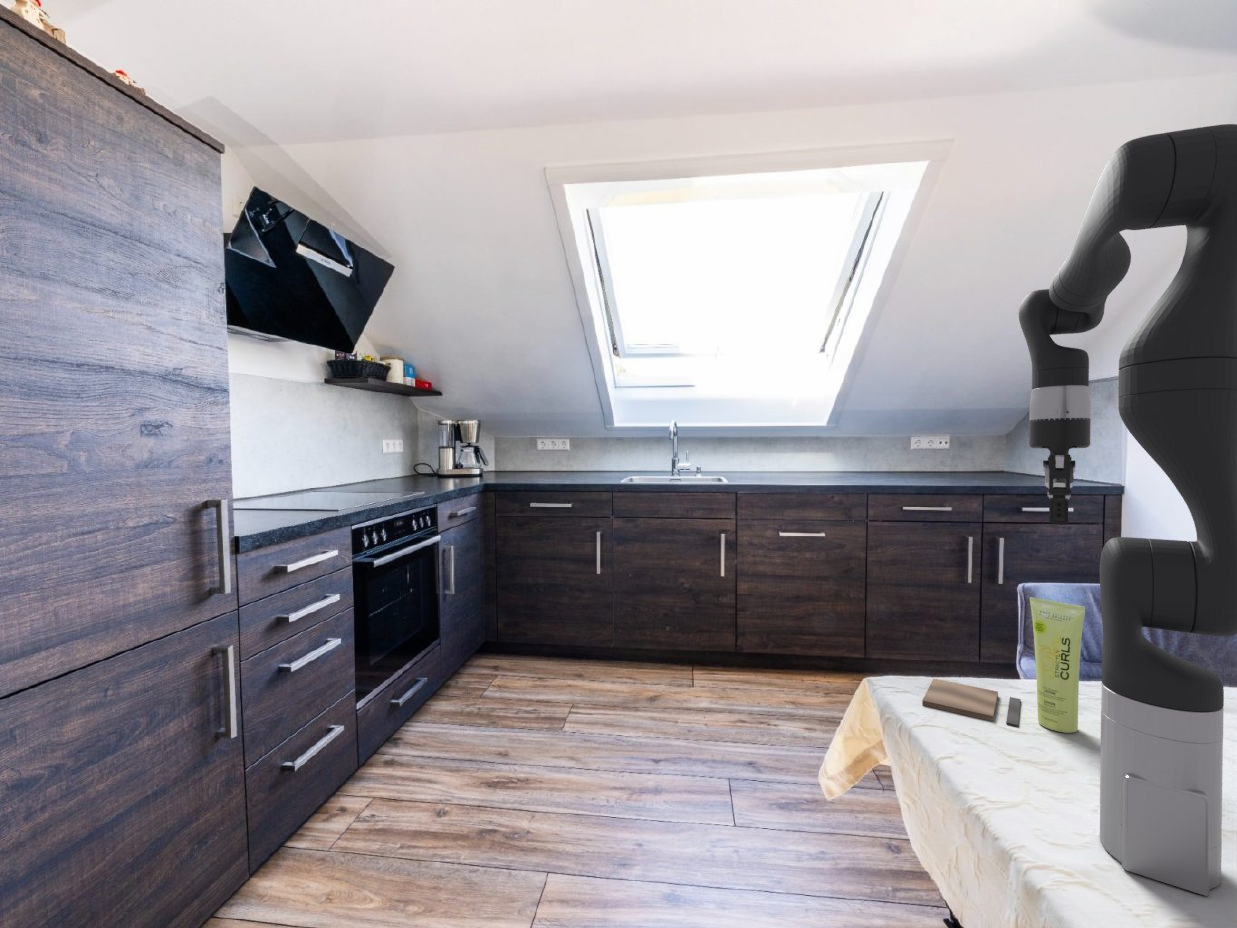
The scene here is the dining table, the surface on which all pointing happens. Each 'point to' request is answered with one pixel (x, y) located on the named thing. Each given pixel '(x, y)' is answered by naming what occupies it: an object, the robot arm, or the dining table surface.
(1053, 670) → the tube
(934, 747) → the dining table surface
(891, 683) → the dining table surface
